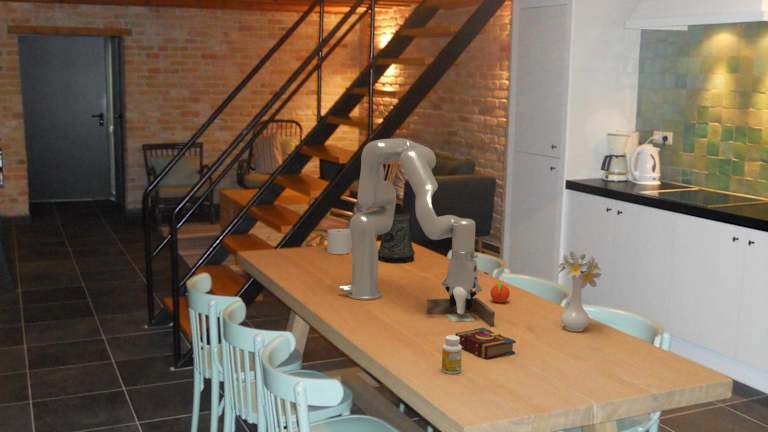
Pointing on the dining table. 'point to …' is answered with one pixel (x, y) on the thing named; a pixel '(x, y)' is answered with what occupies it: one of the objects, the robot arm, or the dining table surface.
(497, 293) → the clementine
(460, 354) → the supplement bottle
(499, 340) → the decorative book
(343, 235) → the toilet tissue
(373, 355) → the dining table surface
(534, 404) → the dining table surface
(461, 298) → the lightbulb
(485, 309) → the corner fence
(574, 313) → the flower vase
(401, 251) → the beer stein
